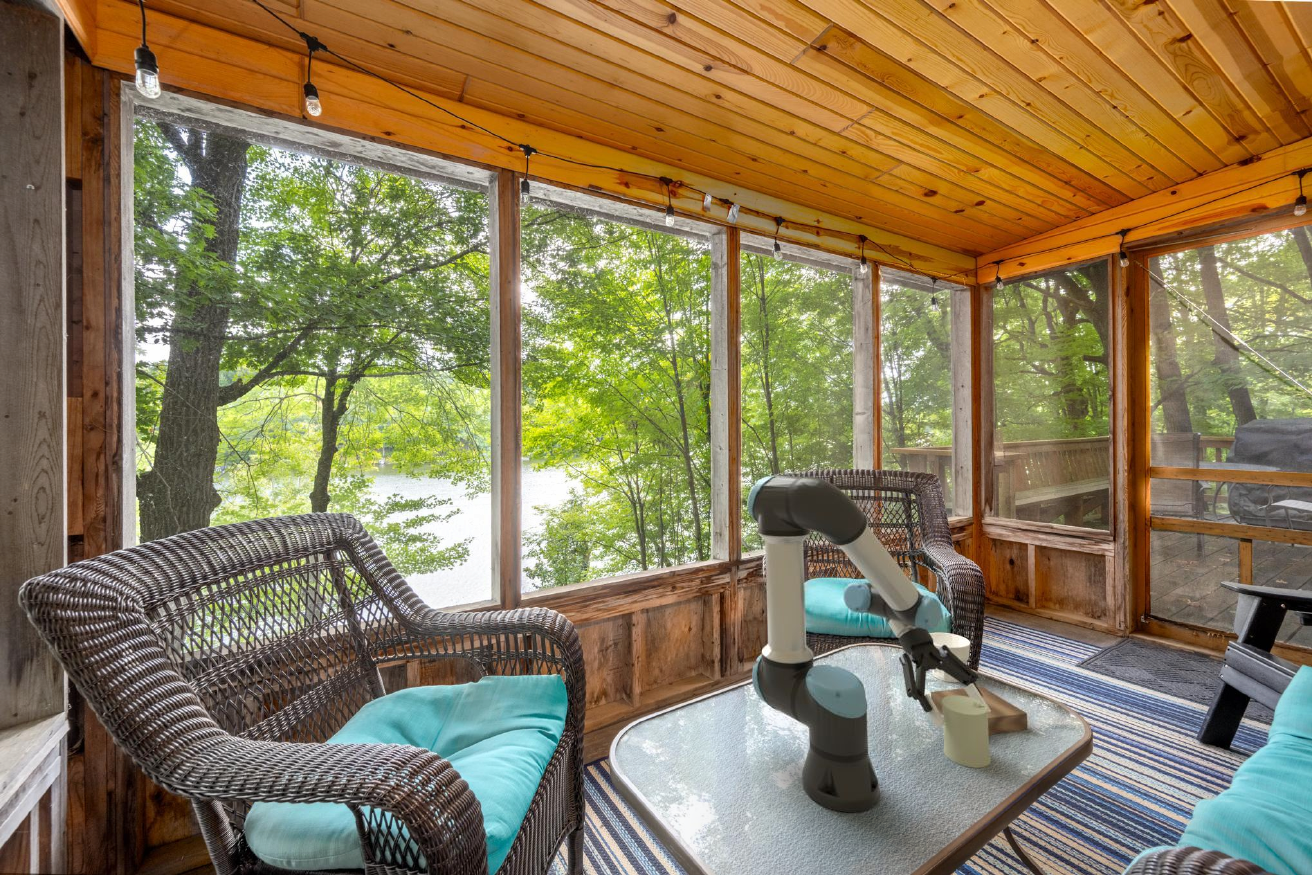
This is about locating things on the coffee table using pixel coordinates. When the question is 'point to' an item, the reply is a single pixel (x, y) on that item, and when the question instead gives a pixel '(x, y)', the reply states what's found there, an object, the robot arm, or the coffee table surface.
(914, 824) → the coffee table surface
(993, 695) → the plinth
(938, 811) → the coffee table surface
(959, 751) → the can
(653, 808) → the coffee table surface
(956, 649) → the cup
